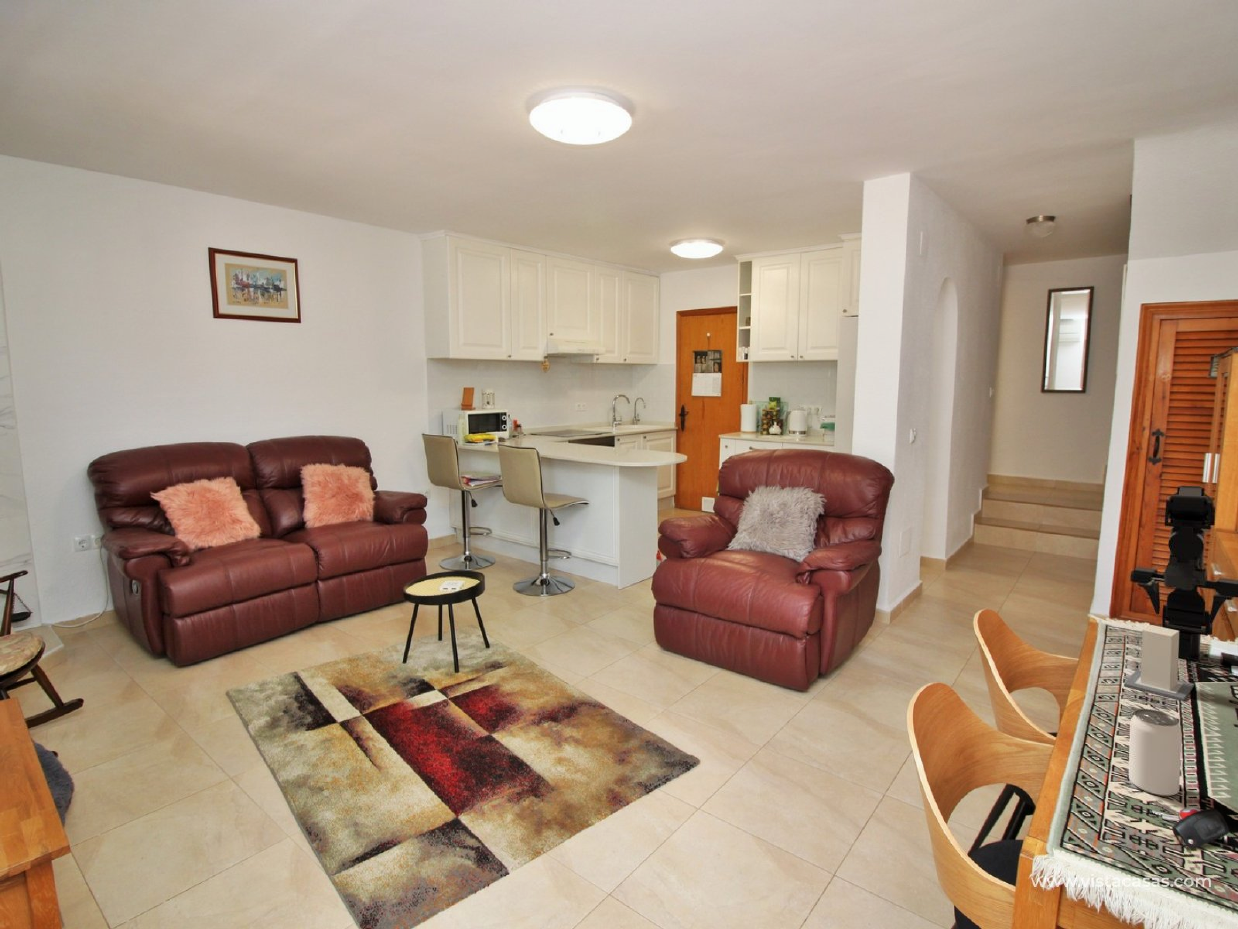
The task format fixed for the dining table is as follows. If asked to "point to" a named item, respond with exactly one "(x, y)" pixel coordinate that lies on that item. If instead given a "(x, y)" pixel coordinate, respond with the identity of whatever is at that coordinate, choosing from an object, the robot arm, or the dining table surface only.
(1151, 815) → the dining table surface
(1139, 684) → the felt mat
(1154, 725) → the can
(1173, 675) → the cream block
